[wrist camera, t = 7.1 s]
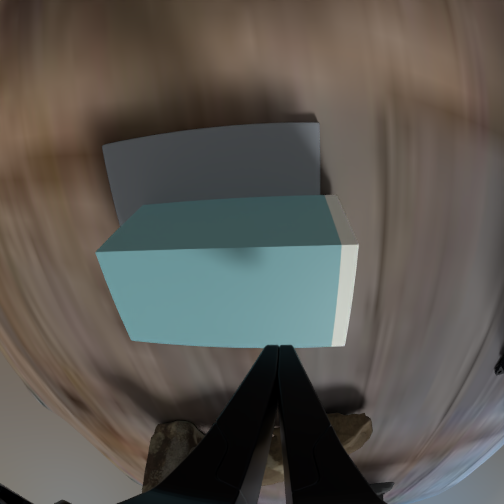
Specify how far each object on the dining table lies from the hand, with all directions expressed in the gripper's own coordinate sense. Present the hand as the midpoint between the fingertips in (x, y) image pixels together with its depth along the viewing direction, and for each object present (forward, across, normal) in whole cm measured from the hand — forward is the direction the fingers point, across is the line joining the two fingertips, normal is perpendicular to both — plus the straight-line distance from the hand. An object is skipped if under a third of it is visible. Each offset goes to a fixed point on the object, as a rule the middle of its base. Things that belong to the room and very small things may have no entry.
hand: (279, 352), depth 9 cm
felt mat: (+8, +4, 0) cm, 9 cm away
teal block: (+5, -3, 0) cm, 6 cm away
